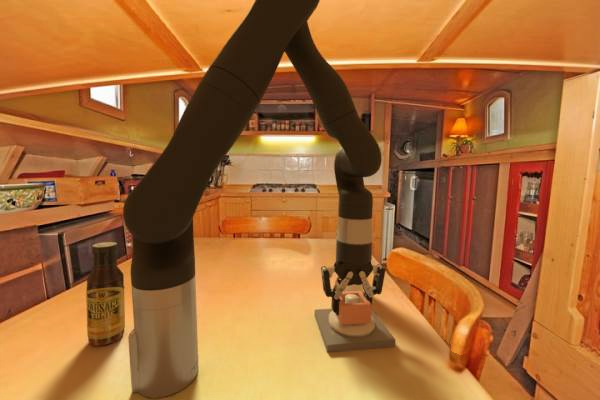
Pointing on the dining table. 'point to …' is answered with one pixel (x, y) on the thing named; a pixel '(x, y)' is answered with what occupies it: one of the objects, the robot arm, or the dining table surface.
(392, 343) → the post plate
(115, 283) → the sauce bottle
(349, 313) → the collar
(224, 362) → the dining table surface
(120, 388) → the dining table surface
